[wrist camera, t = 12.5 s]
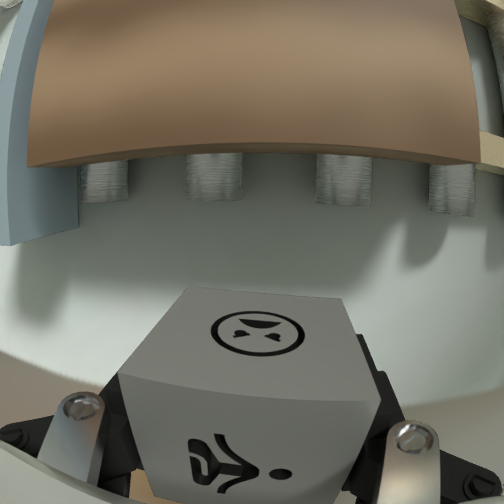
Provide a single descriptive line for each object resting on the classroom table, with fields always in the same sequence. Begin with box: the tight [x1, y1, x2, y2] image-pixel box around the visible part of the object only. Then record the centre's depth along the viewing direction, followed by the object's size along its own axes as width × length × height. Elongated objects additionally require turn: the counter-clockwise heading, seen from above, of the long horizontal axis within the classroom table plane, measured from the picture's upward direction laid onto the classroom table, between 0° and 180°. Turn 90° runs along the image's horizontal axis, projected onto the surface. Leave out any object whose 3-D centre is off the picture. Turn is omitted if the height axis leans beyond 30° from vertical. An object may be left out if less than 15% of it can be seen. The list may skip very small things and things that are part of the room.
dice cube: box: [117, 286, 381, 504], centre depth 8 cm, size 5×5×5 cm
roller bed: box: [80, 0, 504, 216], centre depth 12 cm, size 18×30×3 cm, turn 89°
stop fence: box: [0, 0, 79, 246], centre depth 12 cm, size 21×5×6 cm, turn 179°
